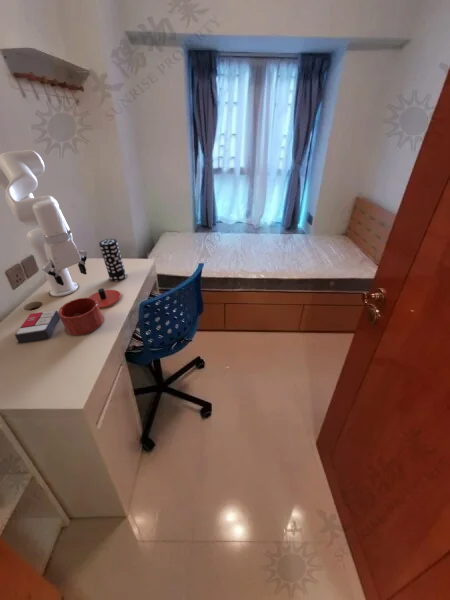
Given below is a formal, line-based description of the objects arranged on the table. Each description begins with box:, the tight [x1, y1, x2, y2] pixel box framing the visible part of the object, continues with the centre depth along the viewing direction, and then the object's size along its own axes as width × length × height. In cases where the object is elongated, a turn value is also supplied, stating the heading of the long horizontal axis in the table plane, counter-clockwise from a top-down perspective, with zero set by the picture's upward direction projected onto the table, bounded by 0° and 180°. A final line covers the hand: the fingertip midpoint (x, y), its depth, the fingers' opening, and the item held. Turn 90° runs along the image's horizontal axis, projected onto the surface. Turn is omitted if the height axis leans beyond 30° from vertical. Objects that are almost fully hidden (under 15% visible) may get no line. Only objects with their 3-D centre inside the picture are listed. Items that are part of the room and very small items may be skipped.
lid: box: [88, 288, 122, 309], centre depth 129 cm, size 15×15×6 cm
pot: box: [58, 297, 104, 336], centre depth 113 cm, size 14×14×8 cm
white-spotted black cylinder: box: [98, 238, 127, 282], centre depth 143 cm, size 8×8×20 cm
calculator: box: [14, 309, 60, 343], centre depth 113 cm, size 11×4×15 cm
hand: (72, 278), depth 110 cm, fingers open, 9 cm apart
